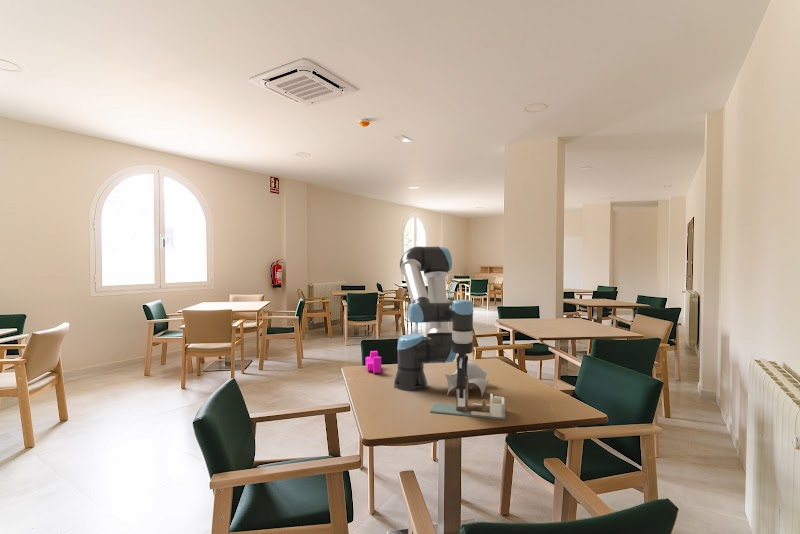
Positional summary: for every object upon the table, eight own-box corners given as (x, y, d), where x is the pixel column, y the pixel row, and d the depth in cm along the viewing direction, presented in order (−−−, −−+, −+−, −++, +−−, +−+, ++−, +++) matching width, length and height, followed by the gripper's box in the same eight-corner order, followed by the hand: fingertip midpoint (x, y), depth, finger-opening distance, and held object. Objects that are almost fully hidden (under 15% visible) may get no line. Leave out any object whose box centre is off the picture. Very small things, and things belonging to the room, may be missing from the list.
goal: (489, 416, 142) (489, 401, 142) (490, 407, 150) (490, 393, 150) (504, 417, 141) (504, 402, 141) (504, 408, 149) (504, 394, 149)
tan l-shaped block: (455, 410, 146) (456, 378, 146) (457, 405, 152) (457, 374, 152) (485, 413, 144) (485, 380, 144) (485, 407, 149) (485, 376, 149)
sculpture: (490, 399, 162) (490, 375, 162) (444, 396, 165) (444, 373, 165) (487, 380, 187) (487, 360, 187) (446, 378, 190) (446, 358, 190)
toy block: (365, 365, 213) (365, 351, 213) (377, 364, 214) (377, 350, 214) (368, 373, 198) (368, 358, 198) (381, 372, 200) (381, 357, 199)
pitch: (430, 412, 147) (430, 408, 147) (434, 403, 156) (434, 399, 156) (505, 419, 140) (505, 415, 140) (505, 410, 149) (505, 406, 149)
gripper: (470, 347, 139) (470, 413, 139) (474, 337, 155) (474, 397, 156) (449, 345, 141) (448, 411, 141) (455, 336, 157) (455, 395, 158)
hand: (462, 403), depth 149 cm, fingers closed on tan l-shaped block, 4 cm apart
